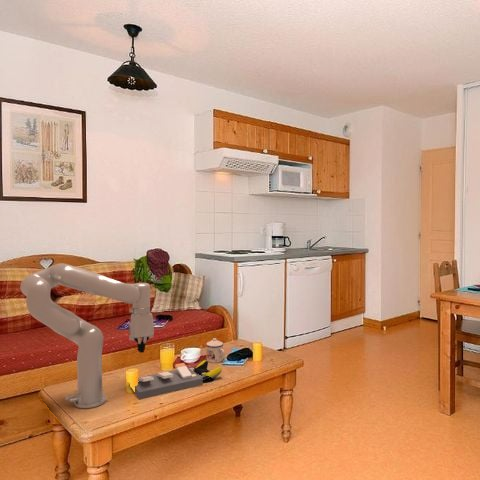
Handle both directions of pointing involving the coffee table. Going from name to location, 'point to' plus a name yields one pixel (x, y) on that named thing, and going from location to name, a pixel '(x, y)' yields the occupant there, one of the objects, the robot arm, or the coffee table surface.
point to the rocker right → (183, 370)
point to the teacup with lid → (215, 351)
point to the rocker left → (145, 378)
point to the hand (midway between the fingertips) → (141, 351)
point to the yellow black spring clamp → (203, 371)
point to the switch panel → (166, 384)
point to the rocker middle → (164, 374)
